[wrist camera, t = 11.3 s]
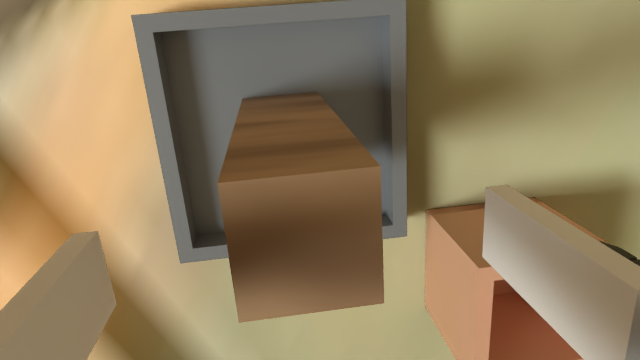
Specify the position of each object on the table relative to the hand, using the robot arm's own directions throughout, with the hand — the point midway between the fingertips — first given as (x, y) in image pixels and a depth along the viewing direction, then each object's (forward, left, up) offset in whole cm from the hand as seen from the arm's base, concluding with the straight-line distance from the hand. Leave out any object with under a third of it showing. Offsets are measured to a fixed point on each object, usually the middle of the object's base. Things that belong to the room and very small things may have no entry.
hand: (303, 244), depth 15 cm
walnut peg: (0, 0, -16) cm, 16 cm away
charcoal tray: (0, 0, -17) cm, 17 cm away
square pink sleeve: (-12, -15, -17) cm, 26 cm away
